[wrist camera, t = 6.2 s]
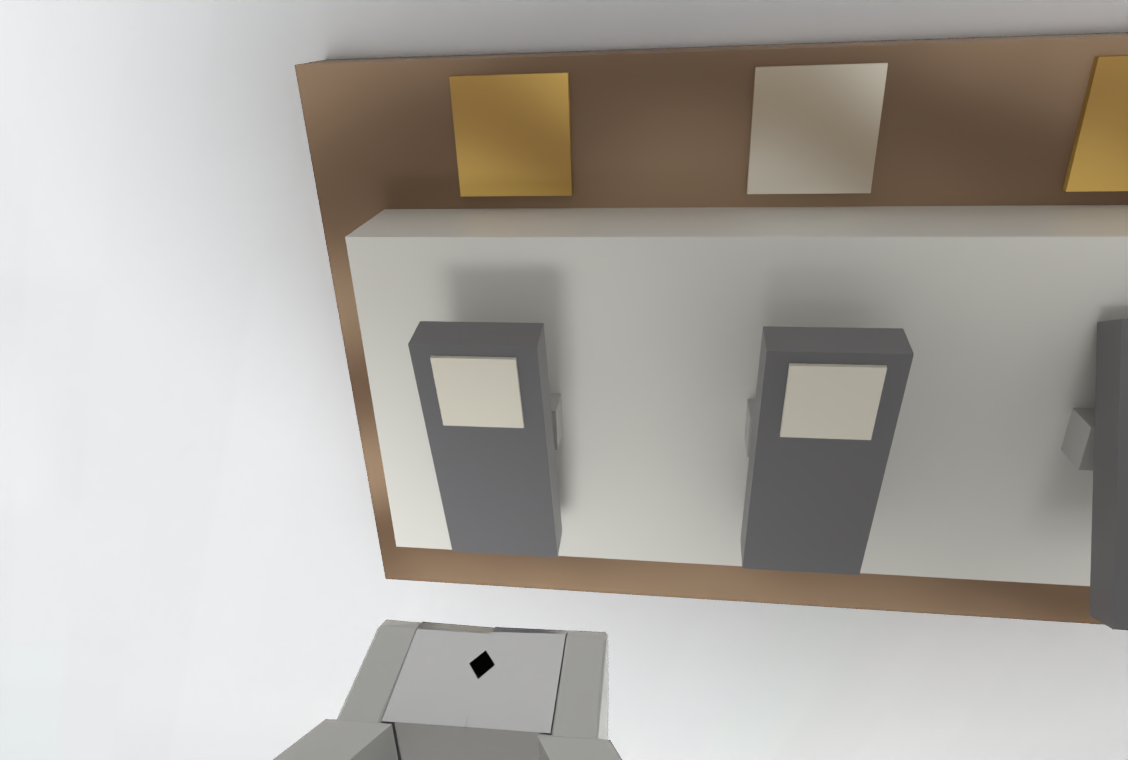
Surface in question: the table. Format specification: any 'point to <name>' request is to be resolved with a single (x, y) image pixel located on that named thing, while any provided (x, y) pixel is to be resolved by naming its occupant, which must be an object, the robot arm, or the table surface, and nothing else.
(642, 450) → the switch housing
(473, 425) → the block
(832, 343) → the rocker
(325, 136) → the chart board
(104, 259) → the table surface
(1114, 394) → the block
